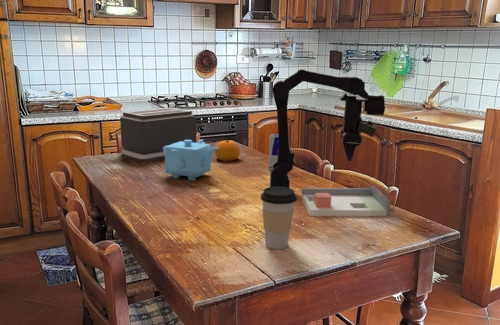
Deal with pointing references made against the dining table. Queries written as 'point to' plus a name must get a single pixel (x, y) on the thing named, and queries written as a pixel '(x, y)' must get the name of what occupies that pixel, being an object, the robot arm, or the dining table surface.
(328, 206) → the brick block
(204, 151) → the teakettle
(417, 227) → the dining table surface
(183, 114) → the toaster
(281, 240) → the coffee cup
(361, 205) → the board
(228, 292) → the dining table surface
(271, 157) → the beverage can
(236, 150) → the fruit
